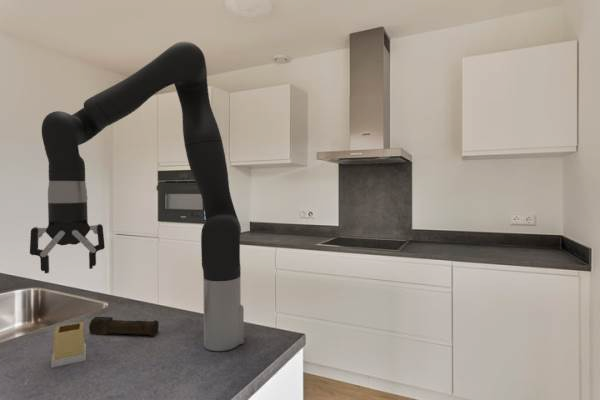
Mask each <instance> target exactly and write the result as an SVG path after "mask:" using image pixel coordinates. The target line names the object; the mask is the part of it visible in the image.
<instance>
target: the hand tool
mask: <svg viewBox="0 0 600 400" xmlns="http://www.w3.org/2000/svg"><path fill="white" fill-rule="evenodd" d="M159 323H160V322H159V321H158V320H152V321H149V320H148V321H147V320H120V319H113V317H112V316H94V317H93V318H92V319H91V320H90V323H89V326H88V329H89V333H91V334H95V335H101V336H108V335H111V334H122V335H123V334H127V335H141V336H146V335H147V336H150V337H151V338H153V337H154V336H156V335H157V334H158V331H159V327H160V325H159Z"/></svg>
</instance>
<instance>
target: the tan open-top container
mask: <svg viewBox="0 0 600 400" xmlns="http://www.w3.org/2000/svg"><path fill="white" fill-rule="evenodd" d="M84 343H85V321H79V322H74V323H67V324H61V325H56V326H55V328H54V331H53V351H54V359H58V358H63V357H68V356H73V355H77V354H82V353H84Z"/></svg>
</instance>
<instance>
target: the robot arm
mask: <svg viewBox="0 0 600 400" xmlns="http://www.w3.org/2000/svg"><path fill="white" fill-rule="evenodd" d="M207 70H208V69H207V62H206V58H205V55H204V52H203V51H202V49H201V48H200V47H199V46H197V45H196V44H195V43H193V42H190V41H180V42H176V43H174V44H172V45H171V46H170V47H168V48H167V49H166V50H164V51H163V52H162V53H160V54H159V55H158V56H157V57H155V59H152V61H150V62H149V63H147V64H146V65H144V66H143V67H142V68H140V69H139V70H137V71H136V72H134V73H133V74H131V75H130V76H128V77H125V79H123V80H121V81H119V82H118V83H115V84H114V85H112V86H110V87H108V88H106V89H104V90H102V91H100V92H99V93H97V94H94V95H93V96H91V97H88V98H87V99H86V100H84V102H83V108H81V109H79V110H78V111H76V112H74V113H73V114H70V113H67V112H65V111H60V110H58V111H52V112H49V114H47V115H46V116H45V117H44V119H43V120H42V123H41V137H42V142H43V143H42V144H43V146H44V151H45V154H46V155H45V156H46V157H47V160H48V186H47V187H48V188H47V213H48V215H47V216H48V217H47V218H48V219H47V220H48V225H47V227H38V226H33V228H31V229H30V236H29V237H30V241H29V255H31V256H37V257H39V258H40V271H41V272H44V274H49V273H50V255H49V254H50V252H51V250H53V249H54V247H55V246H56V245H60V246H66V245H73V246H74V245H78V244H82V245H83V247H85V248H86V249H87V250H88V259H89V262H88V264H89V265H88V268H89V270H91V269H93V267H96V265H97V252H99V251H102V250H104V249H105V237H104V236H105V235H104V226H103V224H101V223H98V224H95V225H89V223H88V190H87V184H86V164H85V160H84V158H83V157H82V156H81V155H80V151H79V146H81V145H83V144H85V143H87V142H88V141H90V140H92V139H93V138H95V136H97V135H98V134H100V133H101V132H102V131H103V130H104V129H105V128H107V127H108V126H111V125H114V124H115V123H117V122H118V121H120V120H122V119H124V118H125V117H128V116H129V115H131V114H132V113H133V112H136V110H138V109H139V108H141V107H142V106H143V104H144V103H145V102H147V101H148V100H149V99H150V98H151V97H153V96H154V95H156V94H157V93H158V92H160V91H162V90H163V89H165V88H167V87H169V86H172V85H173V86H175V90H176V94H177V97H178V100H179V103H180V107H181V114H182V116H181V117H182V133H183V134H182V135H183V143H184V149H185V153H186V158H187V162H188V165H189V168H190V172H191V174H192V176H193V179H194V181H195V184H196V185H197V188H198V191H199V193H200V196H201V199H202V204H203V209H204V215H205V216H204V217H205V221H204V224H203V225H202V228H201V234H200V244H201V245H200V246H201V247H200V248H201V249H200V250H201V254H200V255H201V267H202V272H203V275H202V276H203V279H202V280H203V282H202V283H203V284H202V285H203V347H204V348H205V349H207V350H209V351H211V352H212V351H214V352H225V351H229V350H232V349H235V348H237V347H238V346H240V345H242V344H244V343H245V341H244V335H245V334H244V330H245V329H244V328H245V327H244V323H245V322H244V318H245V317H244V316H245V315H244V313H245V312H244V306H243V305H242V304H241V303H242V302H241V297H242V296H241V290H242V288H241V279H242V278H241V276H242V275H241V272H242V271H241V269H242V268H241V255H240V254H241V251H240V250H241V234H242V228H241V224H240V221H239V218H238V216H237V215H238V214H237V213H236V209H235V206H234V203H233V200H232V195H231V191H230V183H229V173H228V166H227V159H226V154H225V149H224V144H223V140H222V139H223V138H222V136H221V133H220V129H219V126H218V122H217V120H216V118H215V116H214V112H213V109H212V107H211V103H210V102H211V101H210V95H209V87H208V71H207ZM90 231H92V232H93V234H95V235H97V243H98V244H95V245H94V244H93V243H92V242H91V241H90V240H89V238H87V236H88V234H89V232H90ZM44 233H46V234H47V236H49V238H51V240H50V241H49V242H48V244H47V245H46V246H45V247H44V248H43V249H39V239H40V238H42V236H43V235H44Z"/></svg>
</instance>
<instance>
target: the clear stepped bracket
mask: <svg viewBox="0 0 600 400" xmlns="http://www.w3.org/2000/svg"><path fill="white" fill-rule="evenodd" d="M86 356H87V343H86V342H84V353H82V354H77V355H73V356H68V357H63V358H58V359H54V350H53V353H52V355H51V360H50V364H51V365H50V367H51V369H53V368H57V367H63V366H66V365H70V364H75V363H80V362H85V361H86V359H87V358H86Z"/></svg>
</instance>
